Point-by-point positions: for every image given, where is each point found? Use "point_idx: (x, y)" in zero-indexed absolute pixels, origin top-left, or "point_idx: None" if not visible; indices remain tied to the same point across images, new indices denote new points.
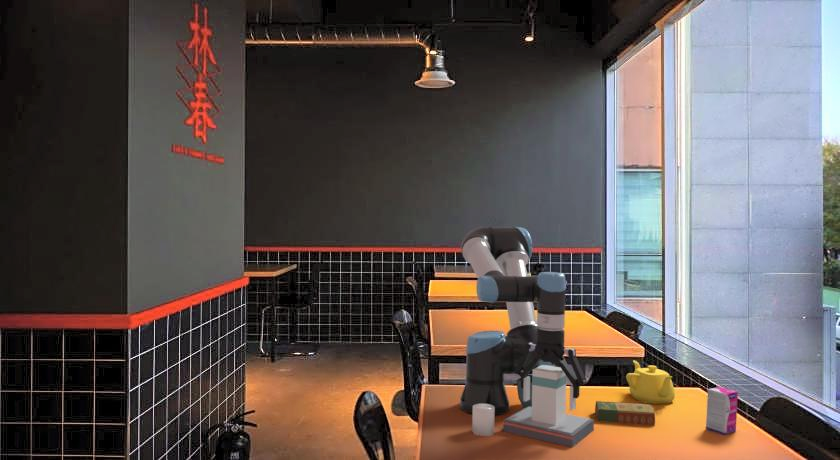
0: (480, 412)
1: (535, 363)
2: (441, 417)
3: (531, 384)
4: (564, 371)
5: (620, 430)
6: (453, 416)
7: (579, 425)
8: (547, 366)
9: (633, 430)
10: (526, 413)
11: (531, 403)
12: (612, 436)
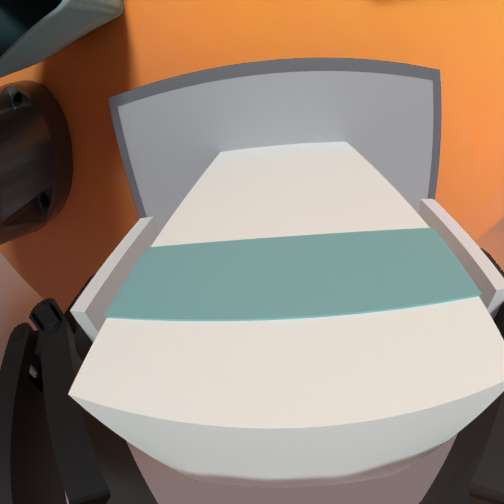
0: None
1: (146, 493)
2: (45, 281)
3: (27, 41)
4: (458, 449)
5: (474, 32)
6: (45, 261)
7: (423, 194)
8: (197, 445)
9: (493, 20)
10: (172, 199)
11: (87, 32)
12: (477, 103)
